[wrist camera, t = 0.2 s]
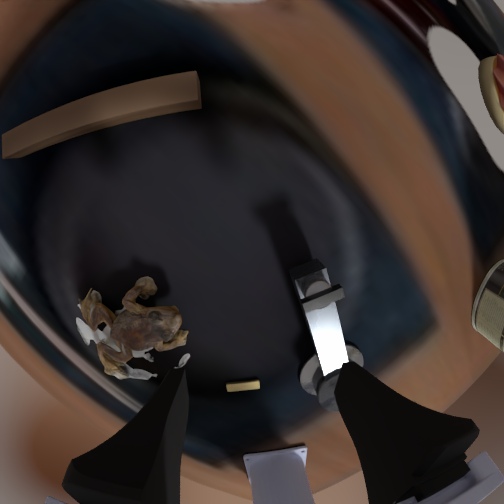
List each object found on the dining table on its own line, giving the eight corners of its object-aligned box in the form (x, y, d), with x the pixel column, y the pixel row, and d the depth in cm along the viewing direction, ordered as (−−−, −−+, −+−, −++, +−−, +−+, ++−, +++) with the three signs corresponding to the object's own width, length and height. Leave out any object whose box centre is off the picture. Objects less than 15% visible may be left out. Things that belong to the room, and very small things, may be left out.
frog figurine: (146, 226, 19) (130, 239, 15) (226, 348, 23) (227, 377, 19) (53, 290, 20) (31, 309, 16) (129, 386, 23) (119, 413, 20)
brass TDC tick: (259, 386, 24) (259, 388, 23) (227, 389, 24) (227, 391, 23) (258, 378, 23) (258, 381, 23) (225, 382, 23) (226, 384, 23)
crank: (357, 379, 24) (374, 407, 20) (317, 397, 24) (328, 427, 20) (330, 252, 20) (353, 272, 16) (273, 274, 20) (284, 300, 16)
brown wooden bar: (201, 108, 17) (198, 99, 14) (20, 157, 16) (2, 158, 13) (199, 82, 16) (196, 70, 14) (19, 135, 15) (1, 134, 13)
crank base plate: (357, 384, 25) (358, 387, 25) (298, 398, 25) (299, 400, 24) (365, 337, 23) (367, 339, 23) (299, 350, 23) (300, 353, 22)
